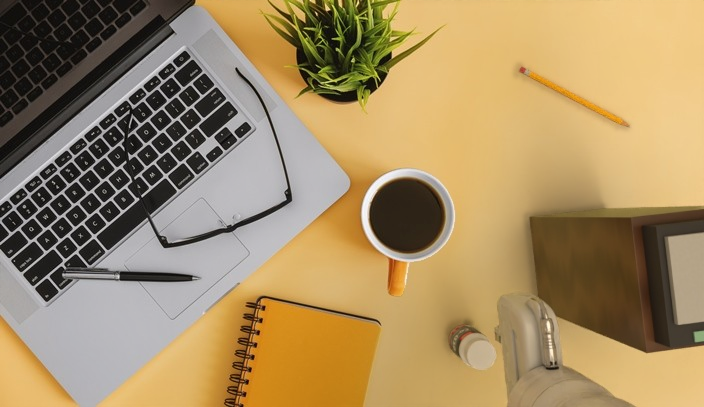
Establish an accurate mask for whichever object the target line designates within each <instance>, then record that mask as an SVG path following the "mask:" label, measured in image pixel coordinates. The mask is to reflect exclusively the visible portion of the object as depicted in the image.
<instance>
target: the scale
mask: <svg viewBox="0 0 704 407" xmlns="http://www.w3.org/2000/svg"><path fill="white" fill-rule="evenodd" d="M642 234H643V242H644V251H645V259H646V268H647V277H648V285H649V294H650V302H651V311H652V319H653V328H654V337H655V342H656V343H658V344H661V345H664V346H667V347H669V348H673V347H681V346H688V345H695V344H703V343H704V219H697V220H688V221H680V222H671V223H662V224H654V225H645V226H642Z"/></svg>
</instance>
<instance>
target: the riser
mask: <svg viewBox="0 0 704 407" xmlns="http://www.w3.org/2000/svg"><path fill="white" fill-rule="evenodd" d="M697 219H704V205H682V206H681V205H680V206H641V207H607V208H597V209H586V210H579V211H578V210H577V211H570V212H562V213H552V214H544V215H543V214H542V215H534V216H529V225H530V234H531V242H532V251H533V259H534V269H535V278H536V287H537V295H538V296H537V297H538V298H540V299H541V300H543V301H544V302H545V303H546V304H548V305H549V306H550V307H551V309H552V310H553V311H554V313H555V315H556V318H559V319H561V320H564V321H566V322H568V323H571V324H573V325H576V326H578V327H580V328H583V329H586V330H588V331H591V332H593V333H596V334H598V335H601V336H603V337H605V338H608V339H610V340H613V341H616V342H617V343H621V344H623V345H625V346H628V347H630V348H633V349H635V350H638V351H640V352H642V353H645V354H652V353H659V352H667V351H674V350H682V349H688V348H695V347H696V348H697V347H703V346H704V343H703V344H695V345H688V346H681V347H673V348H669V347H667V346H664V345H661V344H658V343H656V342H655V337H654V328H653V319H652V311H651V302H650V294H649V285H648V277H647V268H646V259H645V251H644V242H643V234H642V226H645V225H654V224H662V223H671V222H680V221H688V220H697Z"/></svg>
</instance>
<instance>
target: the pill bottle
mask: <svg viewBox="0 0 704 407" xmlns="http://www.w3.org/2000/svg"><path fill="white" fill-rule="evenodd" d="M448 345H449V348H450V350H451V351H452V353H453V354H454V355H455V356H456V357H457V358H459V359H460V361H462V363H464V364H465V365H467V366H469V367H470V368H473V369H475V370H478V371H485V370H488V369H490V368H491V367H492V366H493V365H494V364H495V362H496V359H497V351H496V350H497V349H496V348H495V345H493V344H492V342H491V340H490V339H489V337H487V336H486V335H485V334H483V333H482V332H481V331H479V330H478V329H476V328H475V327H474V326H472V325H469V324H460V325H458V326H456V327H455V328H453V329H452V330H451V332H450V334H449V337H448Z"/></svg>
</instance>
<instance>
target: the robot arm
mask: <svg viewBox="0 0 704 407" xmlns="http://www.w3.org/2000/svg"><path fill="white" fill-rule="evenodd" d="M496 310H497V318H498V326H494V327H493V330H494V331H493V332H494V338H495V341H497V342H498V343H499V344H501V353H502V354H501V355H502V362H503V371H504V379H505V380H504V381H505V390H506V399H507V403H506V407H637V406H636V405H634V404H633V403H631V402H629V401H628V400H625V399H623V398H620V397H616V396H615V394H614V393H612V392H611V391H610V390H608V389H607V388H606V387H605V386H603V385H601V384H599V383H598V382H596V381H594V380H593V379H592V378H589V377H588V376H587V375H584V374H583V373H581V372H580V371H578V370H576V369H574V368H573V367H570V366H566V365H564V361H563V352H562V344H561V335H560V328H559V326H560V325H559V322H558V319H557V318H558V317H556V315H555V313H554V311H553V310H552V309H551V307H550V306H549V305H548V304H546V303H545V302H544V301H543V300H541V299H540V298H539V296H536V295H535V294H533V293H532V292H528V291H521V292H512V293H505V294H501V295H500V296H499V298H498V300H497V302H496Z"/></svg>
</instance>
